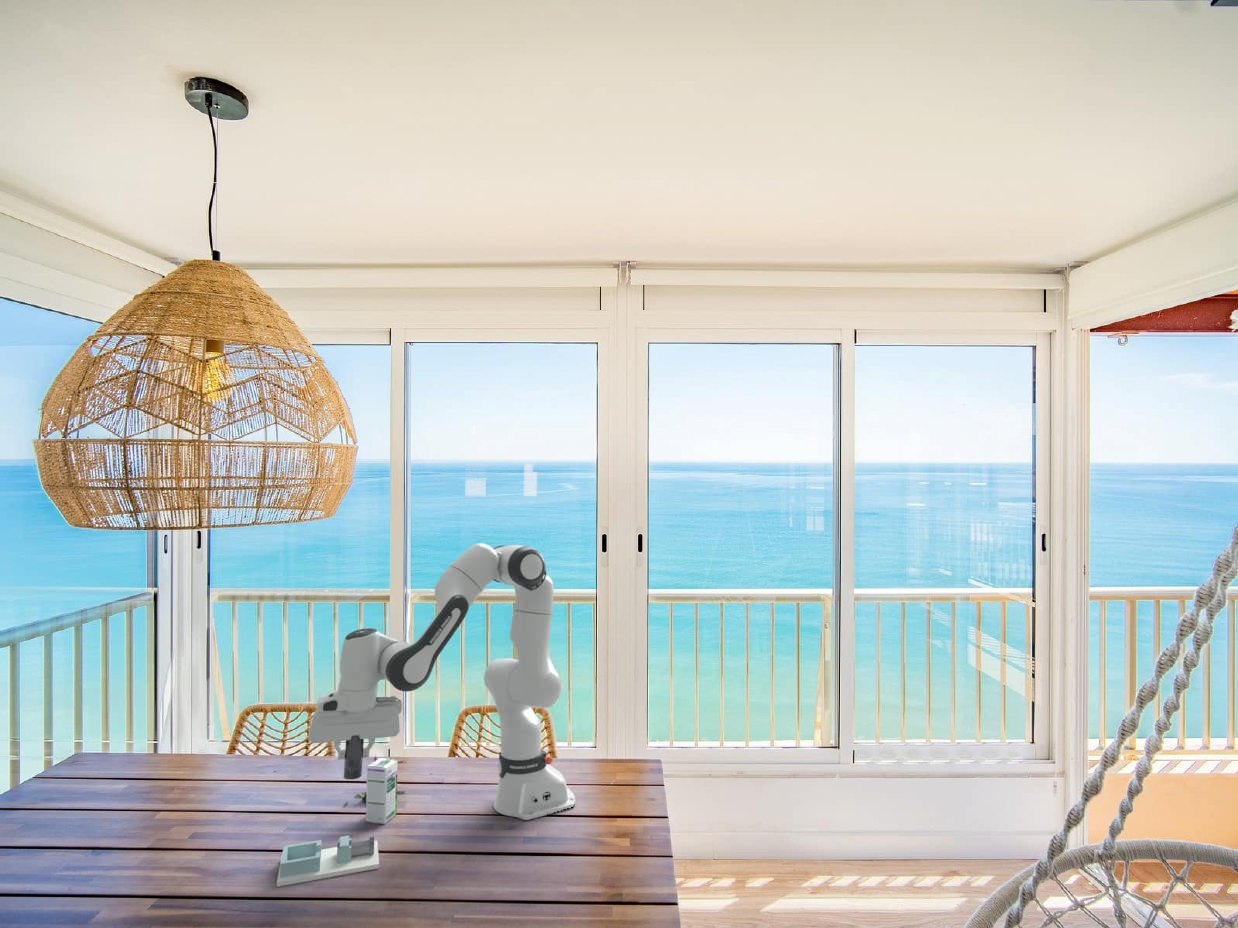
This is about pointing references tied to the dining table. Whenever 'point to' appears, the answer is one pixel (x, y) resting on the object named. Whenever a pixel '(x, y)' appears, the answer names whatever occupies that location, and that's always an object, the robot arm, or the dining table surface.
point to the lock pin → (362, 847)
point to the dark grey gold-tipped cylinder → (353, 758)
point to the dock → (322, 861)
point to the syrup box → (381, 790)
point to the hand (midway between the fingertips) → (353, 757)
